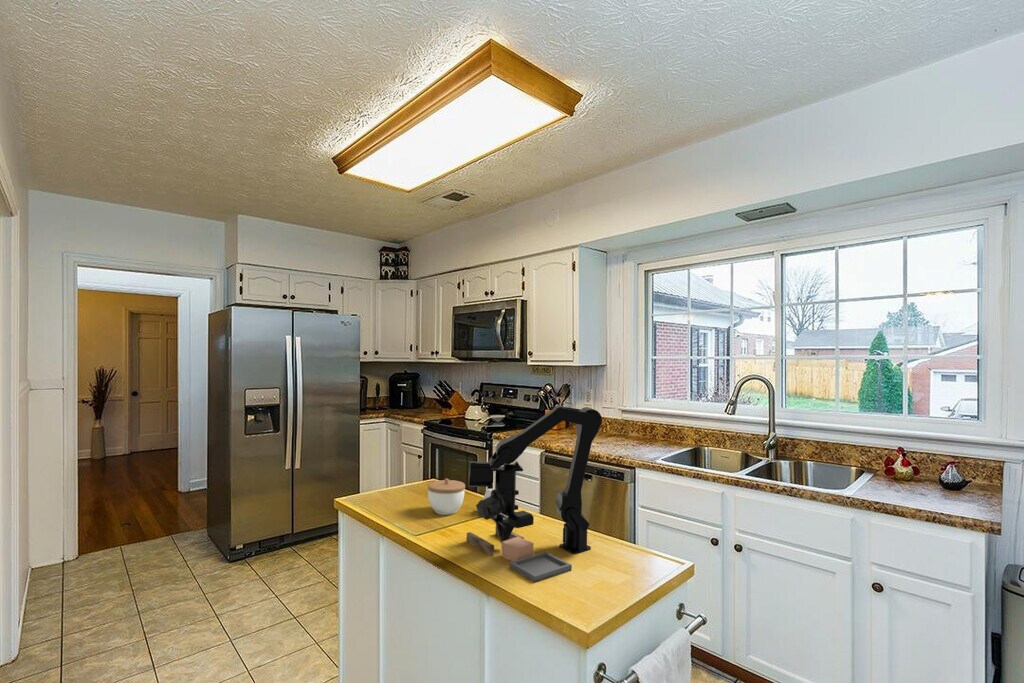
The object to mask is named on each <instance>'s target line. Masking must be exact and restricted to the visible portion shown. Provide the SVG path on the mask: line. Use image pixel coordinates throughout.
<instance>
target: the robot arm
mask: <svg viewBox="0 0 1024 683" xmlns="http://www.w3.org/2000/svg"><path fill="white" fill-rule="evenodd" d="M562 422H568V423H571V424H576V426H575V427H576V441H575V444H574V450H573V455H572V459H571V463H570V468H569V473H568V477H567V481H566V485H565V487H564V489H563V490H560V489H558V491H557V498H556V500H555V502H554V504H555V506H556V510H557V512H558V514H559V516H560V518H561V519H562V521H563V522H564V523H563V528H562V543H560V544H559V547H560V548H562V549H563V550H566V551H568V552H571V553H572V554H579V553H583V552H585V551H588V550H591V548H592V546H590V545H588V529H589V526H590V523H589V521H588V520H587V519H586V517H585V516H584V514H583V513H582V510H583V509H582V508H583V501H582V499H583V498H582V489H583V488H582V487H583V484H584V480H585V475H586V470H587V467H588V466H587V465H588V463H589V462H588V461H589V457H590V452H591V448H592V443H593V442H594V440H595V438H596V436H598V433H599V431H600V429H601V426H602V424H603V417H602V415H601V413H600V412H599V411H598V410H596V409H594V408H591V407H588V406H585V407H581V408H575V407H568V406H563V405H556V406H554V407H553V408H552V409H551V410H550V411H548V412H546V413H545V415H543V416H541V417H540V418H538V420H536V421H534V422H533V423H532V424H530V425H529V426H527V427H526V428H525V429H523V430H522V431H519V432H518V433H516V434H514V435H511V436H508V437H505V438H504V439H502V440H500V441H499V442H498V443H497V444H496V446H495V452H494V453H493V454H492V456H491V457H490V458H489V459H488V461H474V460H473V461H471V460H470V461H469V471H468V487H470V488H480V487H481V488H489V487H490V486H491V485H492V484H493V483H494V482H495V483H494V488H493V489H494V490H492V491H491V496H490V497H489V498H486V499H484V500H483V499H480V500H479V501H478V503H477V504H476V505H475V507H476V511H477V514H478V517H479V518H480V517H481V518H483V519H484V520H487V521H488V520H490V519H491V520H492V521H493V523H495V527H496V526H497V529H498V532H499V536H500V537H499V536H498V537H499V540H500V543H501V544H502V542H503V541H506V540H508V538H509V536H510V534H511V532H514V529H520V528H524V527H529V526H532V525H534V522H535V521H534V519H535V518H534V515H533V514H532V513H530V512H529V511H525V510H519V505H518V504H516V496H519V493H520V491H519V490H517V488H516V487H517V485H516V484H517V482H516V480H517V472H523V471H524V469H523V466H522V465H521V464H519V462H518V460H517V459H518V458H520V456H521V455H523V453H524V452H525V450H526V449H527V448H528V447H529V446H530V445H531V444H533V443H534V442H535V441H537V440H538V439H540V438H541V437H542V436H543V435H545V434H547V433H548V432H550V431H551V430H552V429H553V428H555V427H557V425H558V424H560V423H562ZM494 472H495V477H494ZM494 478H495V480H494ZM516 510H518V511H516Z"/></svg>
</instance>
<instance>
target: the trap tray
mask: <svg viewBox="0 0 1024 683" xmlns="http://www.w3.org/2000/svg"><path fill="white" fill-rule="evenodd" d="M509 568H510V569H511V570H512V571H514V572H517V574H520V575H522V576H523V577H525V578H527V579H528V580H530V581H532V582H533V583H538V582H541V581H544V580H547V579H549V578H552V577H555V576H556V577H557V576H559V575H561V574H564V573H565V574H566V573H569V572H570V571H572V568H573V567H572V564H571V563H569V562H567V561H565V560H563V559H561V558H559V557H558V556H555V555H553V554H552V553H549V552H547V551H543V552H540V553H537V554H533V555H532V556H529V557H525V558H522V559H519V560H515V561H510V562H509Z"/></svg>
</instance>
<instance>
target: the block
mask: <svg viewBox="0 0 1024 683" xmlns="http://www.w3.org/2000/svg"><path fill="white" fill-rule="evenodd" d="M532 555H534V542H532V541H530V540H527V539H525V538H524V539H523V538H520V537H515V538H512V539H509V540H506V541H503V542H502V543H501V557H503V558H504V559H507V560H509V561H510V562H512V561H515V560H519V559H522V558H525V557H529V556H532Z"/></svg>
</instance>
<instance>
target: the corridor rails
mask: <svg viewBox="0 0 1024 683" xmlns="http://www.w3.org/2000/svg"><path fill="white" fill-rule="evenodd" d="M495 535H496V536H497V537H499V538H500V536H499V532H498V529H497V526H496V525H495ZM515 537H520V538H523V539H525V537H524V536H522V535H520V534H517V533H516V532H514V531H512V532H511V534H510V536H509V538H508V540H509V539H512V538H515ZM466 543H468V544H470V545H471V546H473V547H475V548H477V549H478V550H480V551H482V552H483V553H486V554H487V555H489V556H493V555H495V544H493V543H492V542H489V541H487V540H486V539H484V538H482V537H480V536H478V535H477V534H474V533H473V532H471V531H468V532H466Z"/></svg>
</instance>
